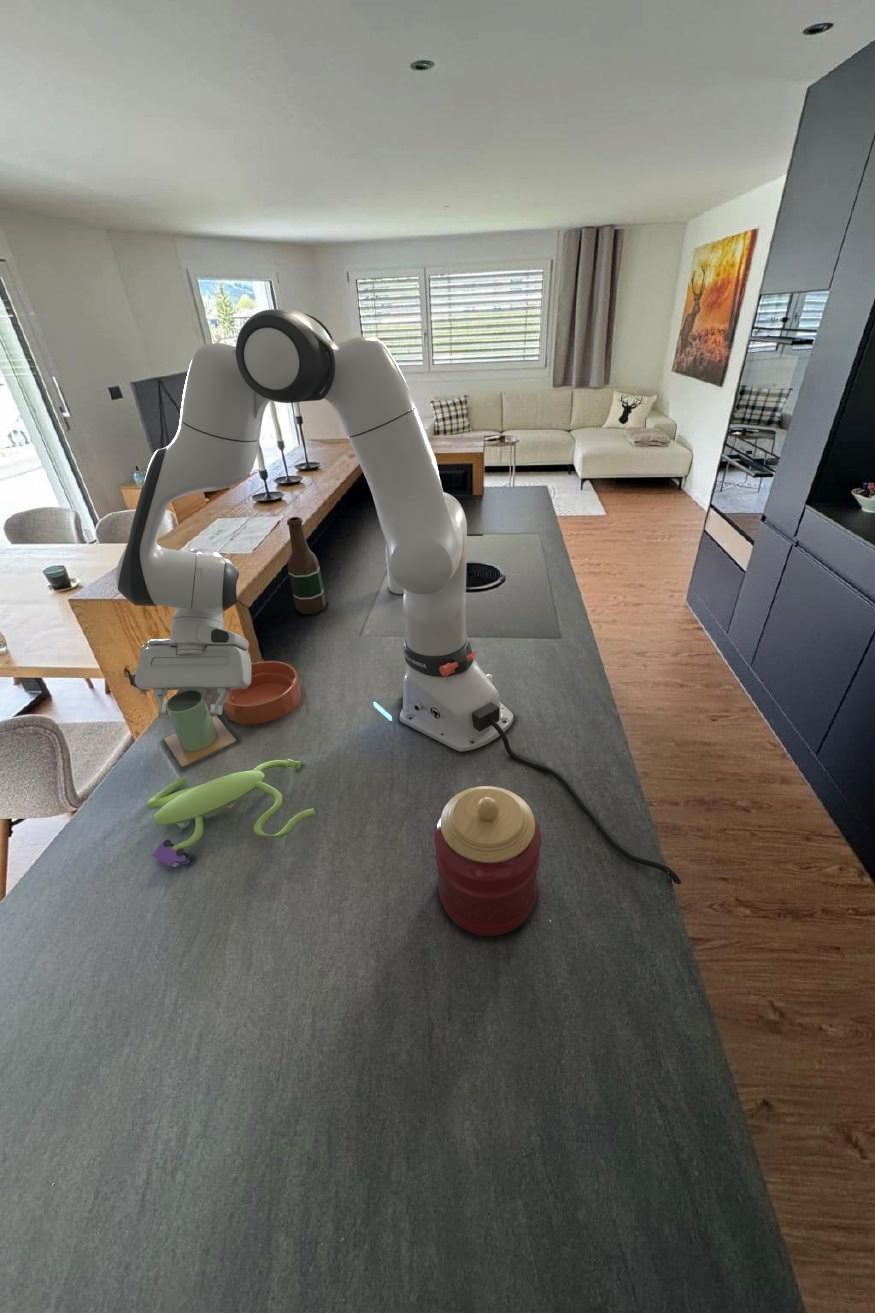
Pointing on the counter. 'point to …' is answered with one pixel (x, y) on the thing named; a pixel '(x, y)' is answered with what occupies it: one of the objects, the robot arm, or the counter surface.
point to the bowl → (265, 694)
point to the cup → (191, 720)
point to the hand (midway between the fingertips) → (190, 714)
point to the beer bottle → (304, 572)
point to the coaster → (190, 756)
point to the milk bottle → (392, 578)
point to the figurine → (214, 806)
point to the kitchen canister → (487, 860)
